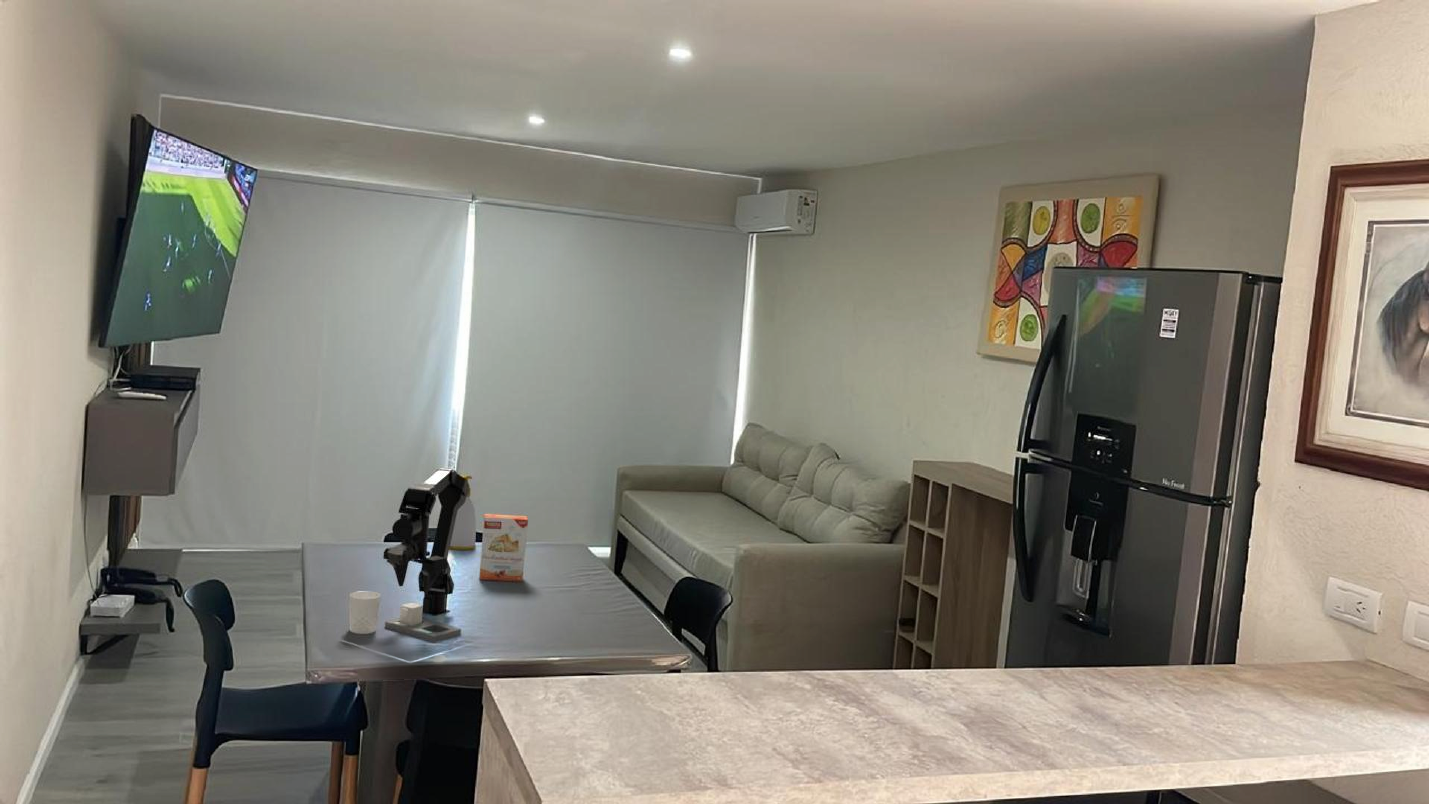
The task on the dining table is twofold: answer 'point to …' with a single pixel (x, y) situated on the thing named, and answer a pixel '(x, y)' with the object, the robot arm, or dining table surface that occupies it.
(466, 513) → the soap bottle
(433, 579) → the robot arm
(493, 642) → the dining table surface
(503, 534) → the cracker box
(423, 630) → the gray socket board
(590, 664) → the dining table surface
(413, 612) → the plug
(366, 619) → the white cup
